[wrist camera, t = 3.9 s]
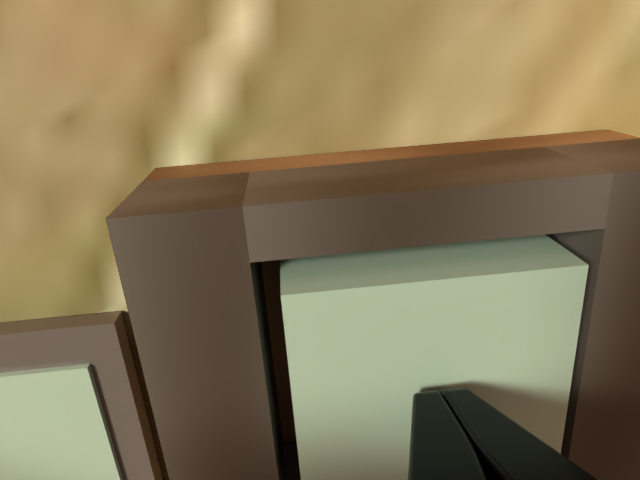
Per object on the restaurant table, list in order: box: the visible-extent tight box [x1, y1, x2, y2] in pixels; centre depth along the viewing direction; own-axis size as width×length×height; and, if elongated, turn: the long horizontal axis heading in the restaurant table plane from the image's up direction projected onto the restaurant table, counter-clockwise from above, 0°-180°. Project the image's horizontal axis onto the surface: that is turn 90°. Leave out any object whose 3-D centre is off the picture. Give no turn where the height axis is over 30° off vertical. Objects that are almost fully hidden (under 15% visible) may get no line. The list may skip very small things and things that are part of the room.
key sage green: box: [280, 234, 589, 480], centre depth 9 cm, size 4×4×2 cm
